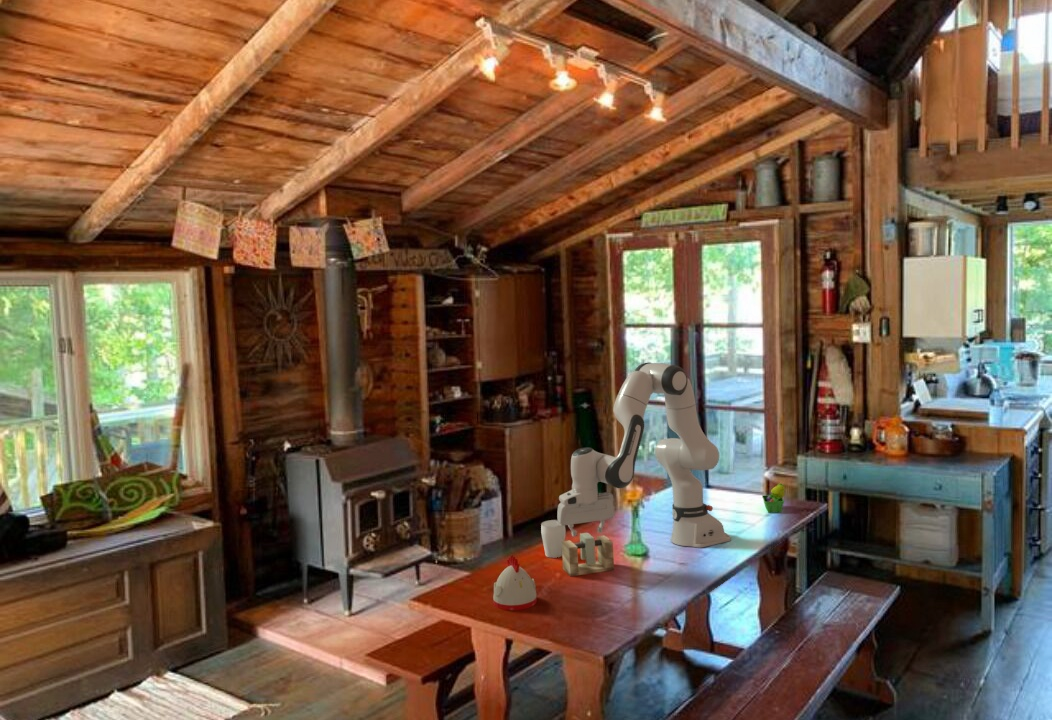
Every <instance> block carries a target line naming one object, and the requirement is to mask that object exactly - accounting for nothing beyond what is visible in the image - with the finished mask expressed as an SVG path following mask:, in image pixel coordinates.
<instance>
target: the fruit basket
mask: <svg viewBox="0 0 1052 720" xmlns="http://www.w3.org/2000/svg"><path fill="white" fill-rule="evenodd" d="M785 490H786V488H785V485H784V484H783V483H777V485H776V486H774V487H773V488H772V489H771V490H770V492H771V493H770V494H764V495H762V499H763V503H764V507H765V509H766V511H767V513H768V514H772V513H773V514H775V513H782V510H783V507H784V506H783V505H784V502H785V500H784V499H783V498H784V497H785Z"/></svg>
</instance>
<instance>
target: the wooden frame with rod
mask: <svg viewBox="0 0 1052 720" xmlns="http://www.w3.org/2000/svg"><path fill="white" fill-rule="evenodd" d="M595 547H596V552H597V553H596V554H597V555H596V556H597V560H596V564H589V565H587V564H586V562H585V563H579V552H578V549H580V548H585V543H584V542H580V541H579V542H573V541H571V540H570V539H569V540H565V541H562V556H561V557H562V570H563V571H565V572H566V573H567V574H568V576H570V577H574V576H575V577H576V576H581V575H589V574H595V573H602V572H608V571H614V570H615V562H614V559H615V558H614V541H613V540H611V539H610V538H609V537H607V536H606V535H597V536H596V540H595Z"/></svg>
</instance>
